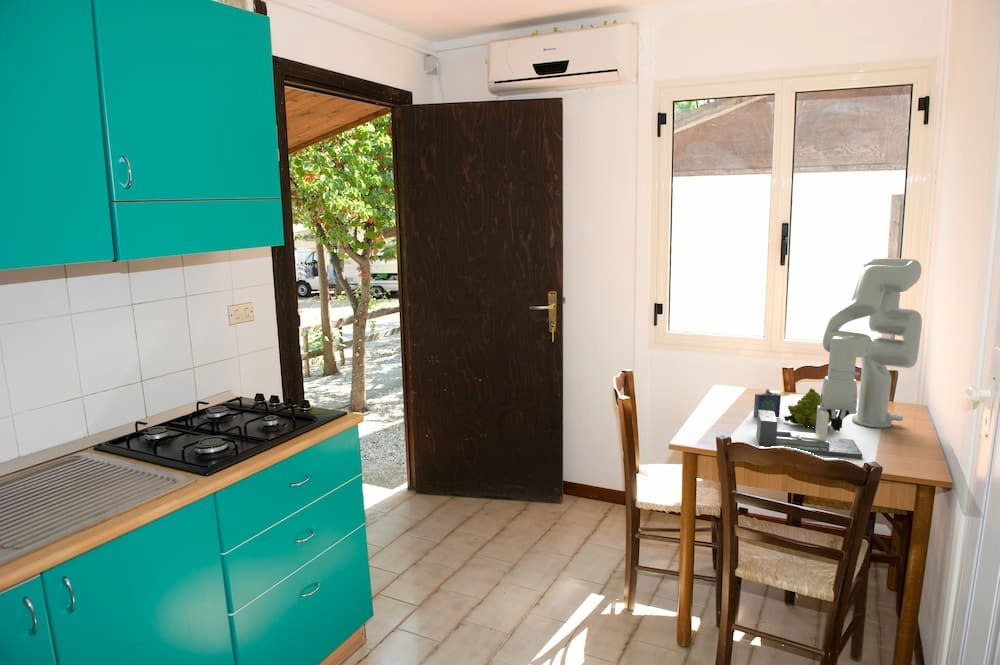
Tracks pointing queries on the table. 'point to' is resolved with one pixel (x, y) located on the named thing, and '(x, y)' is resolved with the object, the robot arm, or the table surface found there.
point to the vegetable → (806, 410)
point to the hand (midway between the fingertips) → (836, 429)
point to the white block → (820, 428)
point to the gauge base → (774, 437)
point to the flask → (767, 402)
